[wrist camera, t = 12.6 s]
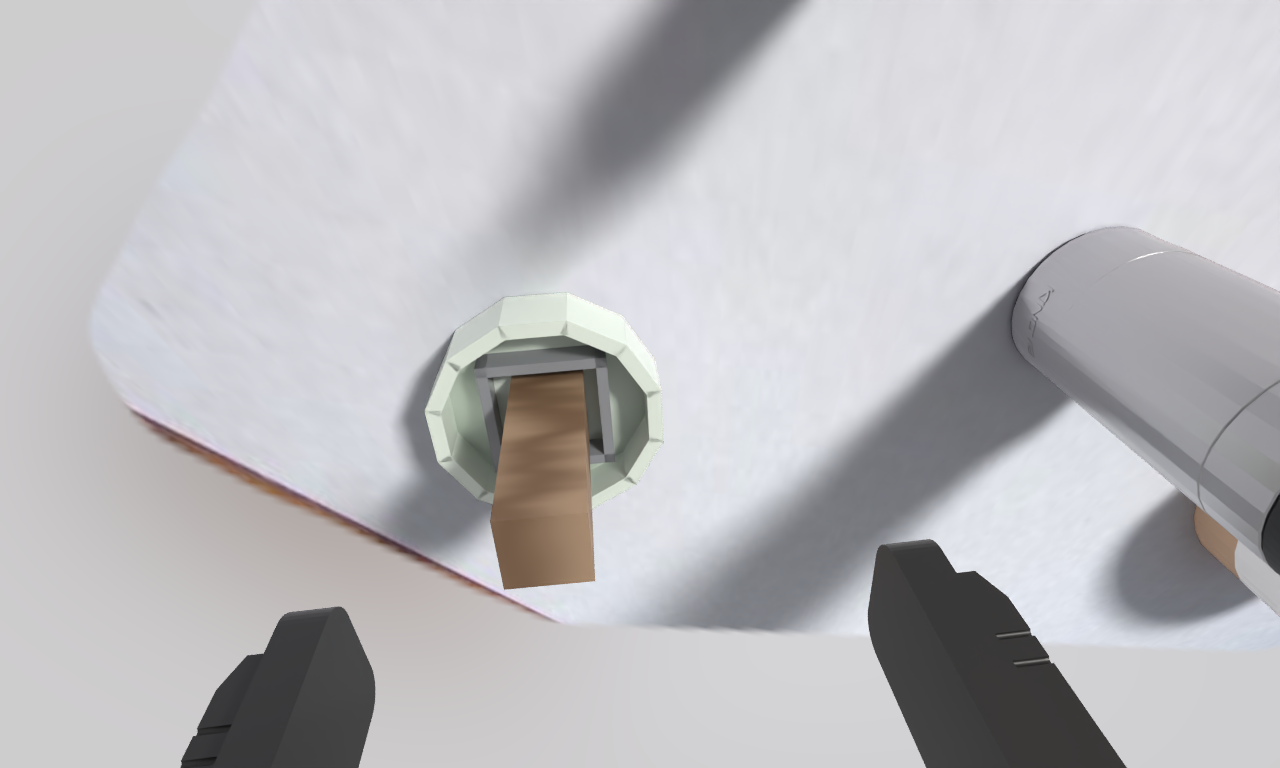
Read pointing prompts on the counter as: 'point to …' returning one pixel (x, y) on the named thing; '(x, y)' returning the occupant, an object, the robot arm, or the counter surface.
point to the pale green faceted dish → (542, 343)
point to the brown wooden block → (544, 483)
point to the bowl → (1239, 559)
